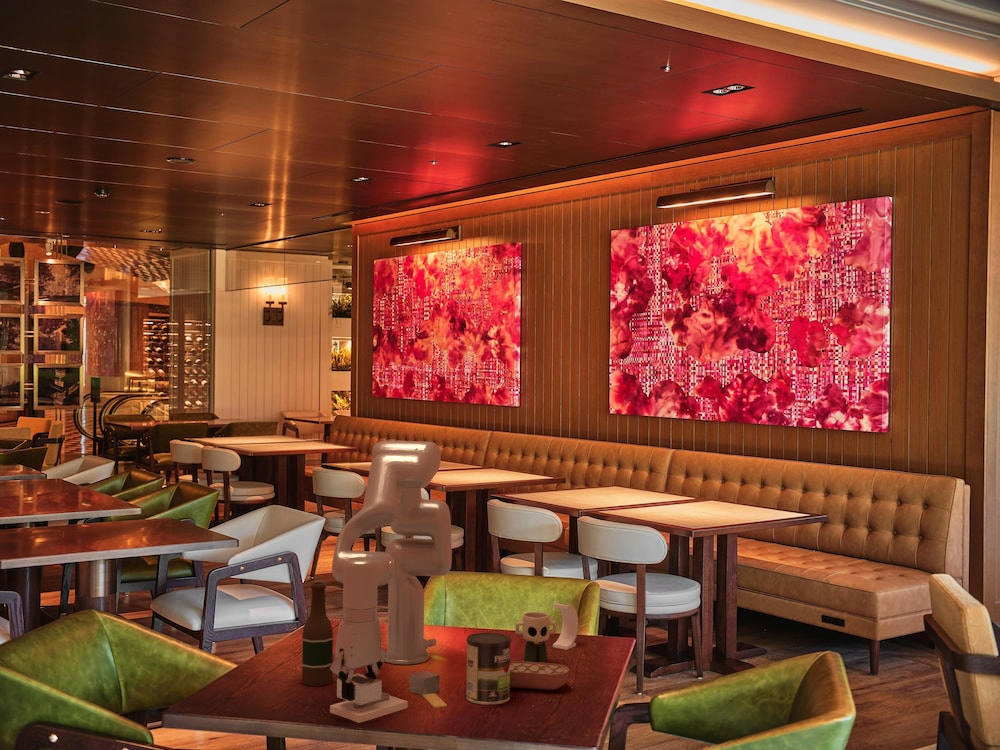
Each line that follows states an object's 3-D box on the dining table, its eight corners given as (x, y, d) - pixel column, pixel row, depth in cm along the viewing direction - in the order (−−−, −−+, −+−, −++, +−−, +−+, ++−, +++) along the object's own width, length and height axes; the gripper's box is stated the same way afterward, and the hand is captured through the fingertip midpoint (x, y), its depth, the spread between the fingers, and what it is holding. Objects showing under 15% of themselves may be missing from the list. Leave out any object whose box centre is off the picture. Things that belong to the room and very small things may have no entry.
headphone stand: (552, 647, 285) (553, 603, 285) (563, 642, 290) (564, 599, 290) (567, 649, 282) (567, 606, 282) (578, 645, 287) (578, 602, 287)
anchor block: (424, 687, 247) (425, 670, 247) (439, 691, 243) (439, 674, 243) (409, 691, 243) (409, 674, 243) (424, 696, 240) (424, 678, 240)
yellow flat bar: (422, 696, 239) (422, 694, 239) (434, 695, 241) (434, 693, 241) (434, 708, 231) (434, 706, 231) (446, 706, 232) (446, 704, 232)
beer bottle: (326, 687, 245) (327, 587, 245) (295, 685, 247) (297, 585, 247) (338, 678, 253) (339, 580, 253) (308, 676, 254) (309, 579, 254)
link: (357, 691, 232) (358, 673, 232) (381, 698, 226) (381, 680, 226) (336, 696, 227) (337, 678, 227) (360, 705, 222) (360, 686, 222)
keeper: (377, 698, 238) (378, 674, 238) (407, 707, 231) (407, 683, 231) (329, 712, 227) (330, 687, 227) (359, 722, 221) (359, 697, 221)
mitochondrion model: (471, 692, 244) (471, 670, 244) (476, 679, 254) (476, 659, 254) (568, 696, 242) (568, 674, 242) (569, 683, 252) (569, 663, 252)
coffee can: (518, 696, 240) (519, 636, 240) (494, 708, 232) (495, 645, 232) (482, 688, 246) (483, 629, 246) (457, 699, 237) (458, 638, 237)
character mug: (517, 669, 263) (517, 618, 263) (512, 661, 270) (513, 611, 270) (558, 667, 264) (559, 617, 264) (553, 660, 271) (553, 611, 271)
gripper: (378, 605, 236) (377, 684, 236) (318, 617, 223) (317, 701, 223) (400, 610, 231) (399, 691, 231) (340, 623, 218) (339, 709, 218)
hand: (358, 695), depth 227 cm, fingers closed on link, 5 cm apart
